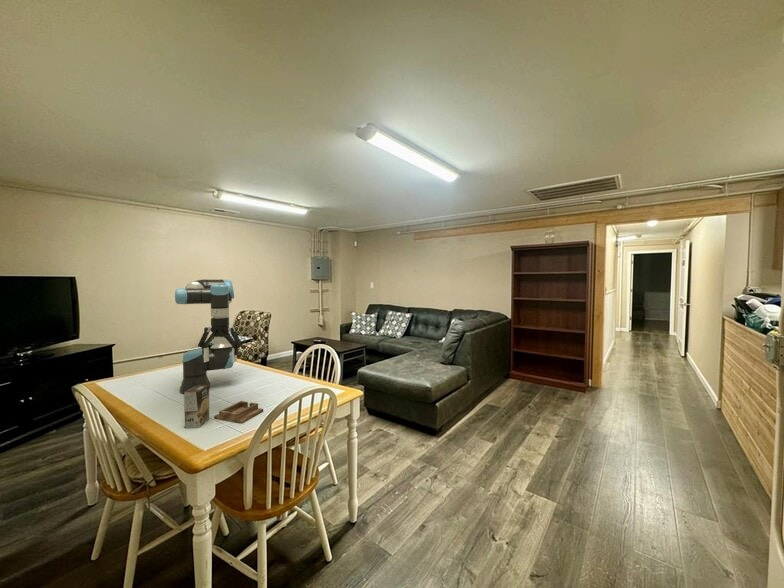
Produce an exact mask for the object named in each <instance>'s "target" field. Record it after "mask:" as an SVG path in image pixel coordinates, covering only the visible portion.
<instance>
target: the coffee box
mask: <svg viewBox="0 0 784 588" xmlns="http://www.w3.org/2000/svg"><path fill="white" fill-rule="evenodd" d="M183 395H184V396H183V399H184V400H183V401H184V405H183V406H184V429H199V428H200V427H201V426H203V425H204V424H205V423H206V422H208V420H210V389H209V385H195V386H194V387H192V388H190V389H188V390H187V391H185V392H184V394H183Z"/></svg>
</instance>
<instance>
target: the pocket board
mask: <svg viewBox="0 0 784 588" xmlns="http://www.w3.org/2000/svg"><path fill="white" fill-rule="evenodd" d="M218 412H219V413H217V414H215V415H214V416H213V419H215V420H218V421H219V420H220V421H225V422H230V423H235V424H240V425H242V424H244V423H246V422H247V421H249V420H252V419H253V418H254V417H256V416H258V415H260V414H261V413H263V412H264V409H263V408H259V403H256V402H248V401H245V400H244V401H243V400H240V401H238V402H236V403H234V404H232V405H230V406H228V407H226V408H224V409H221V410H219V411H218Z"/></svg>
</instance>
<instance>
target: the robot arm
mask: <svg viewBox="0 0 784 588" xmlns="http://www.w3.org/2000/svg"><path fill="white" fill-rule="evenodd" d="M234 292H235V291H234V286H233V282H232V280H230V279H198V280H193V281H191V282H189V283H187V284H186V286H184V287H181V288H176V289H175V290H174V301H175V304H176V305H200V304H201V305H202V304H205V305H206V304H208V305H210V317H211V318H210V326H211V327H210V326H207V327H204V329H203V333H202V336H201V338H200V340H199V342H198V344H197V347H199V348H196V349H195V348H194V349H192V350H191V349H190V350H189V351H186V352H185V353H184V354H183V355H182V369H183V370H182V377H183V378H182V381H181V384H180V386H179V393H180V394H182V395H184V392H185V391H187V390H188V389H190V388H192V387H194V386H195V385H209V390H210V389H211V383H210V380H209V378H208V374H207V372H208V371H216V370H217V371H218V370H227V369H230V368H233V366H234V363H236V362H238V361H237V360H238V355H239V348H242V347H243V346H244V345H243V343H242V341H241V339H240V337H239V335H238V333H237V329H236V327H235V326H234V327H230V304H231V303H232V302H233V301H232V299H234V298H235V293H234ZM210 332H211V334H210ZM209 334H210V335H209ZM208 336H209V337H208ZM212 341H213V342H212ZM211 342H212V345H211V346H210V347H209V345H210V344H211Z"/></svg>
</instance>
